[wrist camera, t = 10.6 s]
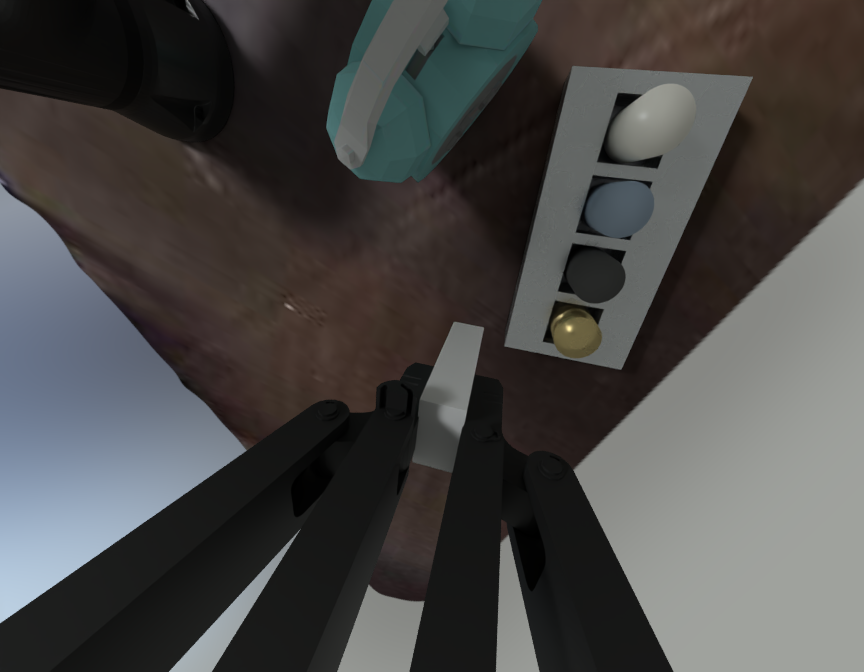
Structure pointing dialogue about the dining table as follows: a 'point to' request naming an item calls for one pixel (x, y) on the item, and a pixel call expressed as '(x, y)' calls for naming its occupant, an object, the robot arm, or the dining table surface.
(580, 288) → the black rounded cylinder
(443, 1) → the alarm clock
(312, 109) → the dining table surface
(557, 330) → the gold rounded cylinder
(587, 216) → the blue ovoid
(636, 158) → the white egg
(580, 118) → the white socket board
